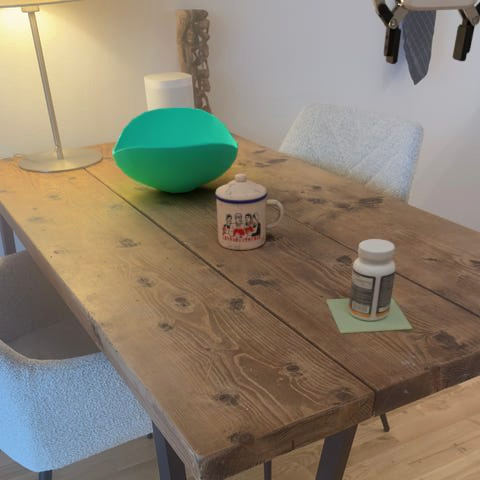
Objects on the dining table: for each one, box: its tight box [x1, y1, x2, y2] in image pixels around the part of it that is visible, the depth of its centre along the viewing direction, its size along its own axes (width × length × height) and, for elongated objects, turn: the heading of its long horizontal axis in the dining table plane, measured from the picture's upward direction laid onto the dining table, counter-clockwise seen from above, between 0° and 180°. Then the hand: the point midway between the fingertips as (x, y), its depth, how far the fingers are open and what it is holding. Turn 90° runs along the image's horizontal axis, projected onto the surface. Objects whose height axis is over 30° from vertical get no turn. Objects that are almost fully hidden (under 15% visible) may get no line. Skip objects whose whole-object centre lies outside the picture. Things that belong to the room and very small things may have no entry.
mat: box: [325, 295, 414, 335], centre depth 81 cm, size 10×10×1 cm
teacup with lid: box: [214, 173, 284, 251], centre depth 99 cm, size 12×9×12 cm
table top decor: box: [111, 106, 239, 194], centre depth 125 cm, size 40×28×13 cm
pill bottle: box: [349, 238, 396, 321], centre depth 77 cm, size 6×6×10 cm
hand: (425, 61), depth 79 cm, fingers open, 9 cm apart
